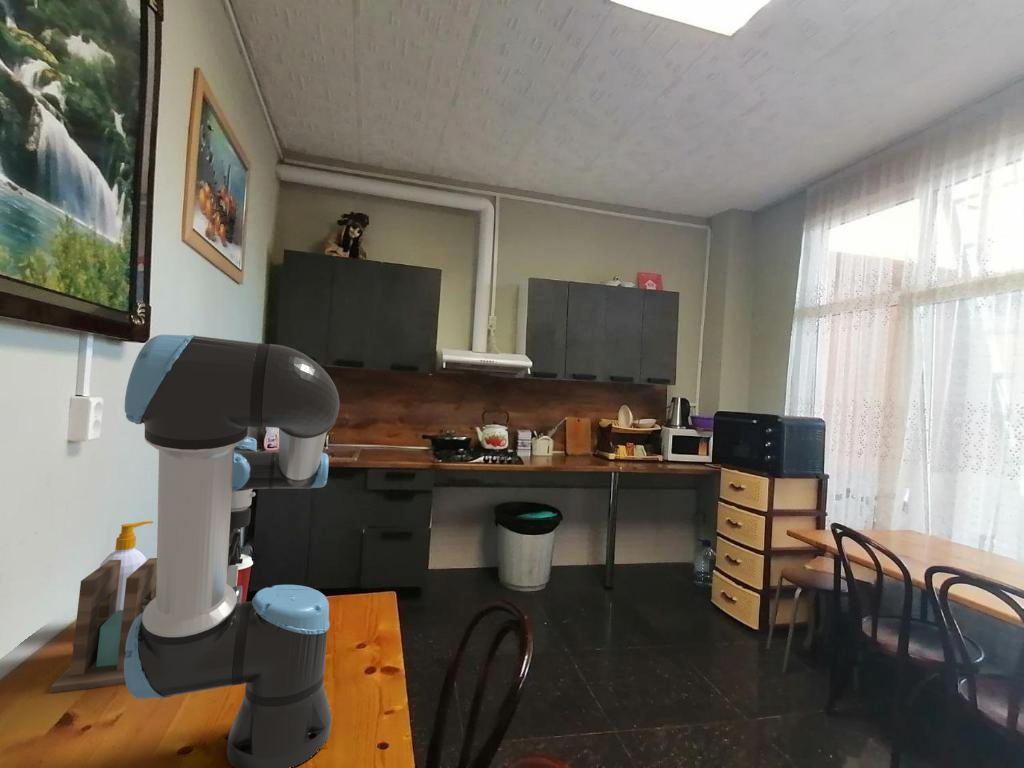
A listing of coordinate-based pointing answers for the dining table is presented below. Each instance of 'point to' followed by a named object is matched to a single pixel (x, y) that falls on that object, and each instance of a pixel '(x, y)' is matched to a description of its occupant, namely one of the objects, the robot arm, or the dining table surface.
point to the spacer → (109, 640)
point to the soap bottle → (126, 558)
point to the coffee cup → (244, 574)
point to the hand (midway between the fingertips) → (222, 607)
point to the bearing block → (94, 612)
